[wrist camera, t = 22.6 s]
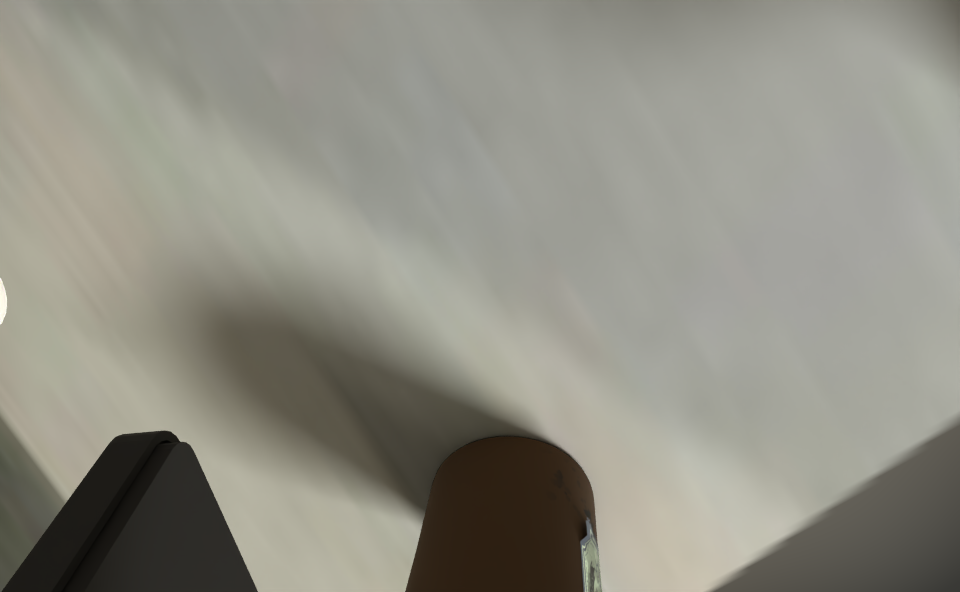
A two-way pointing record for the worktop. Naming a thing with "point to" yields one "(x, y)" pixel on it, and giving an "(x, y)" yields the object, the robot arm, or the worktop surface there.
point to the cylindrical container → (2, 301)
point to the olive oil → (508, 522)
